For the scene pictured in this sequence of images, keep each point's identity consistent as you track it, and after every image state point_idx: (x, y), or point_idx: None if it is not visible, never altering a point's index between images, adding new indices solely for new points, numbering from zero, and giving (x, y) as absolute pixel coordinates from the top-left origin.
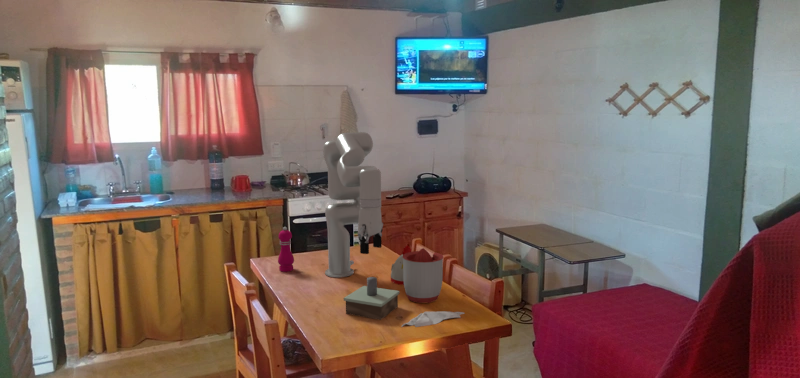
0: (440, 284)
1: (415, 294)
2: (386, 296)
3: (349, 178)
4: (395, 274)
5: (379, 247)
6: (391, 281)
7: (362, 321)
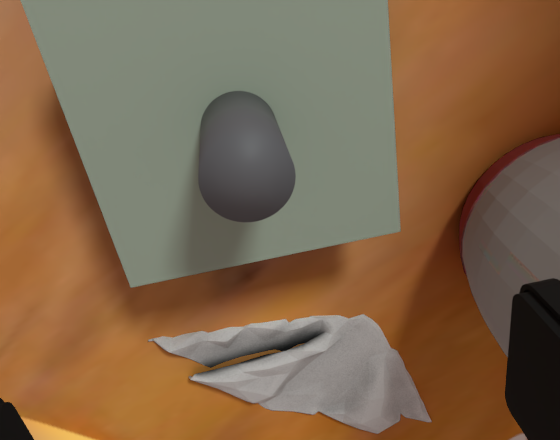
0: None
1: (466, 257)
2: (264, 230)
3: None
4: None
5: (505, 392)
6: None
7: (59, 162)
